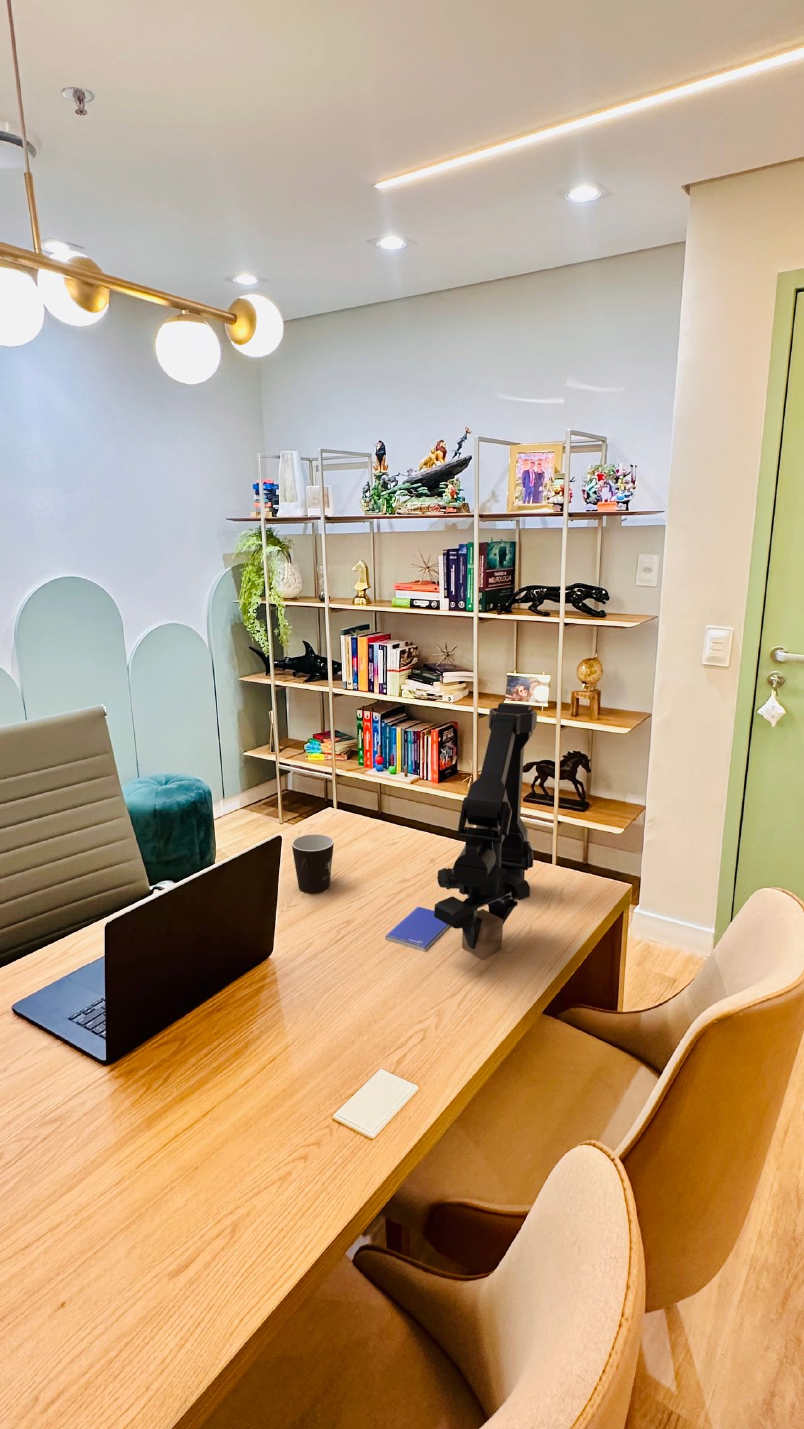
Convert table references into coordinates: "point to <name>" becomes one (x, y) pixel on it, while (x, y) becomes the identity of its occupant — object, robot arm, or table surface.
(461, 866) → the robot arm
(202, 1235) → the table surface
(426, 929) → the hard drive
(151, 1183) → the table surface
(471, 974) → the table surface
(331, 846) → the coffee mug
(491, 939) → the walnut block
